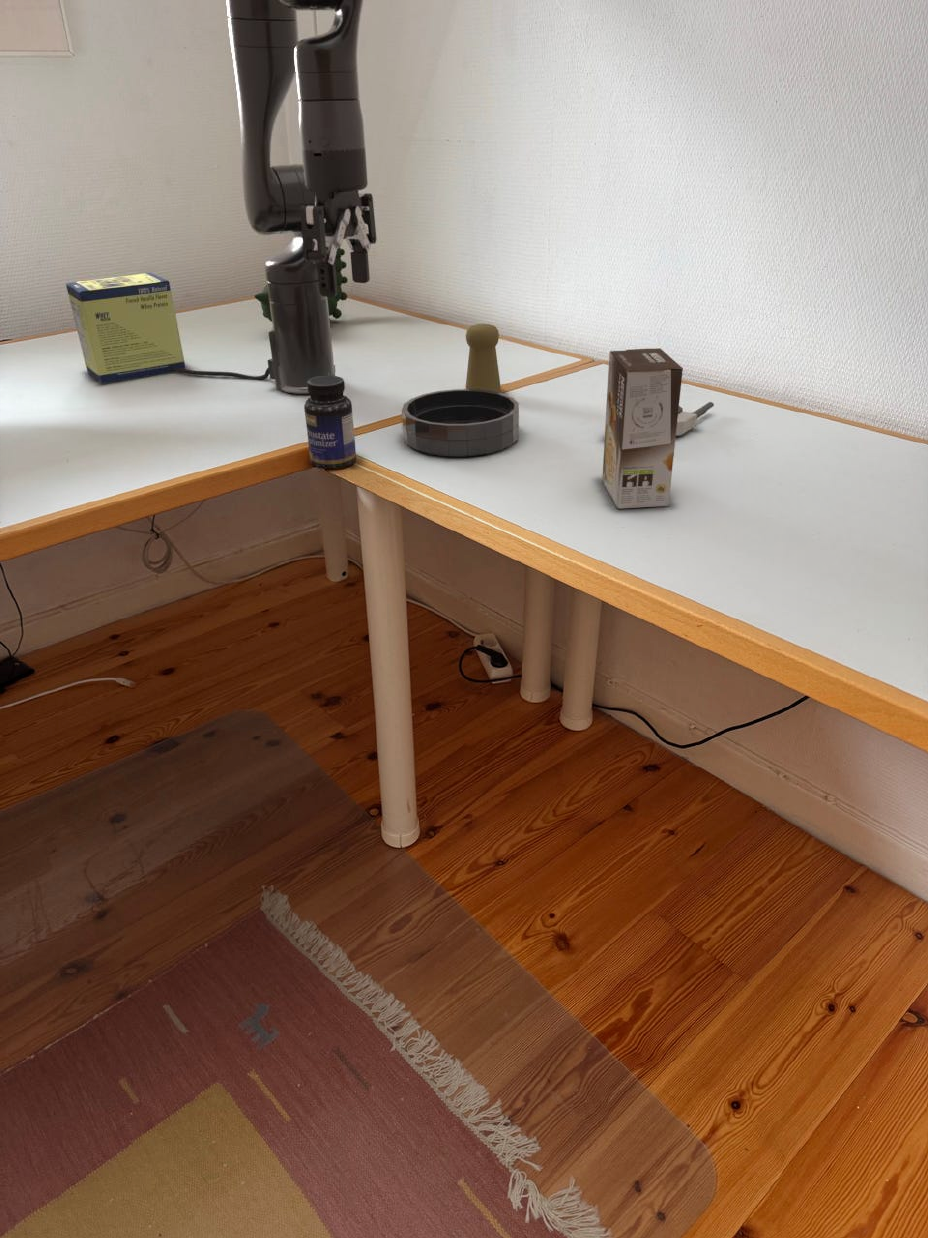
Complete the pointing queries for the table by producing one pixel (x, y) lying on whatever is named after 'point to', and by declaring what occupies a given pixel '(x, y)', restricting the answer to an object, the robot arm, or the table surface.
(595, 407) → the table surface
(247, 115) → the robot arm
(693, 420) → the walkie-talkie
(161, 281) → the protein box
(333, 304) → the toy figurine
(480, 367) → the olive brown knobbed cylinder
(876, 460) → the table surface
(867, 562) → the table surface
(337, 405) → the pill bottle
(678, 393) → the coffee box
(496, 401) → the pan
